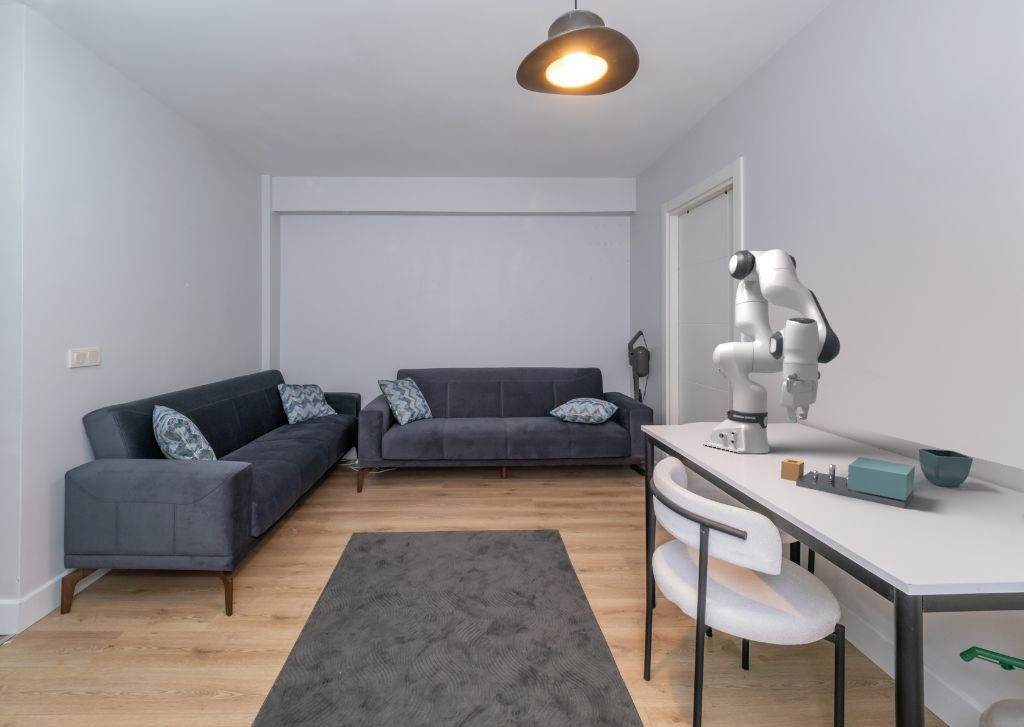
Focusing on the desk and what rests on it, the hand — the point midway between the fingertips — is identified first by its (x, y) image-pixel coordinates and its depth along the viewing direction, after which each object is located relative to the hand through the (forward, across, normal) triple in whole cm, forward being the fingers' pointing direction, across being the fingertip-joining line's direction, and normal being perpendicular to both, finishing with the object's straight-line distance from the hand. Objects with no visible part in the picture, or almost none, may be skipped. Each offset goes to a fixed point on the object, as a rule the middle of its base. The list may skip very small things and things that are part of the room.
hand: (798, 421), depth 144 cm
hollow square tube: (+17, 0, +1) cm, 17 cm away
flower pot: (+17, +26, -30) cm, 43 cm away
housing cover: (+15, 0, -20) cm, 25 cm away
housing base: (+17, 0, -14) cm, 22 cm away
